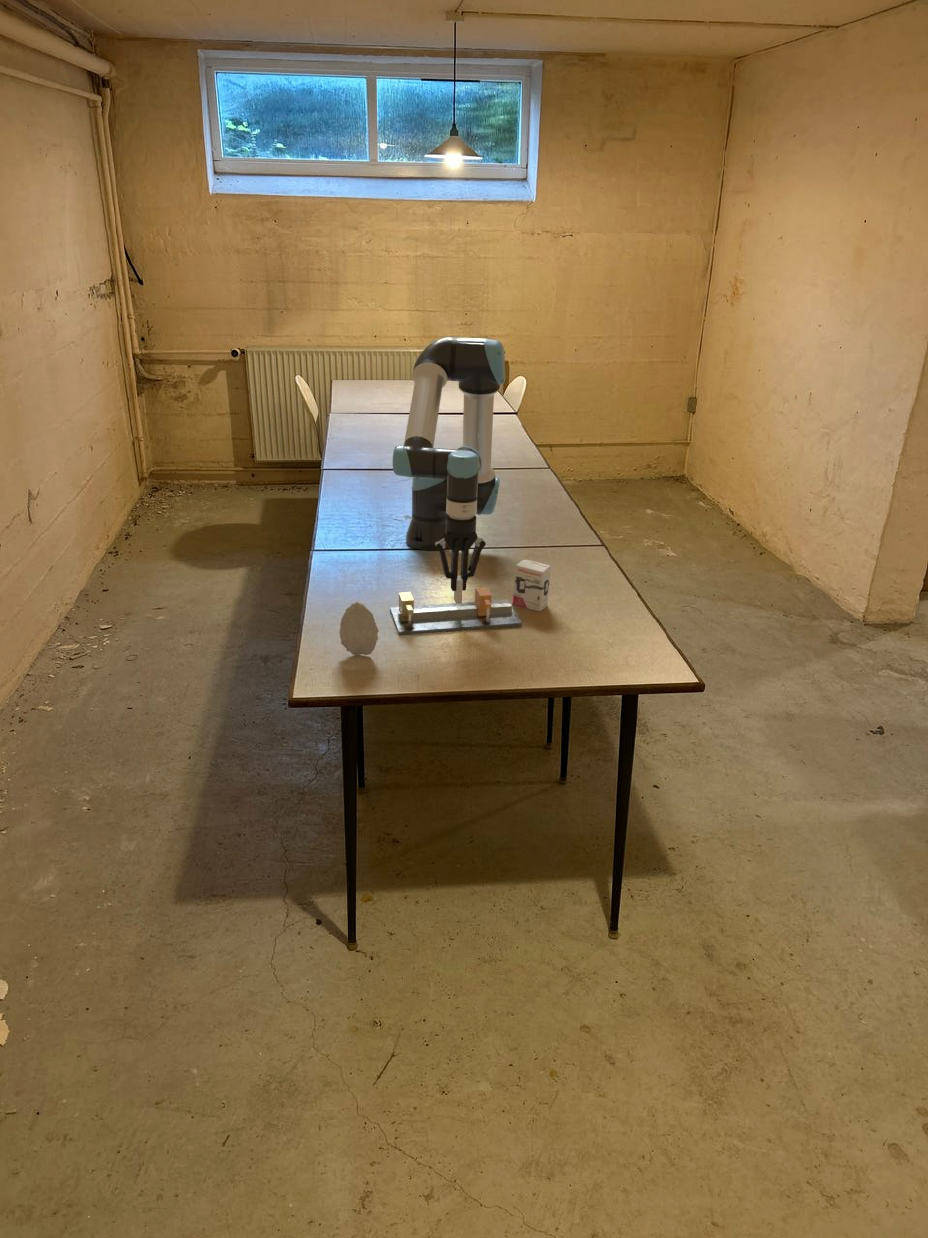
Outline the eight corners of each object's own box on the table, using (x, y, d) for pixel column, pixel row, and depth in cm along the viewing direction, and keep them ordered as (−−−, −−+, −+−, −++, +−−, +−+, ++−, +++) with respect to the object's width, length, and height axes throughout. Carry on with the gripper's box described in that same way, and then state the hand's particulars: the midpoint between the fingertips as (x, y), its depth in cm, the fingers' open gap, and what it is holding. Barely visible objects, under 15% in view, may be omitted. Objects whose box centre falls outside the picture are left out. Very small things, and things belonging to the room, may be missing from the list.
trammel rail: (396, 614, 220) (396, 592, 217) (508, 607, 226) (509, 585, 224) (402, 630, 212) (402, 607, 209) (517, 621, 219) (519, 599, 216)
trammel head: (474, 608, 224) (475, 587, 221) (485, 607, 225) (486, 587, 222) (482, 623, 217) (483, 602, 214) (493, 622, 217) (495, 601, 215)
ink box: (512, 604, 230) (514, 564, 225) (520, 597, 234) (523, 558, 229) (540, 612, 227) (544, 571, 221) (548, 605, 231) (551, 565, 225)
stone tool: (379, 653, 203) (378, 596, 196) (378, 659, 200) (378, 602, 194) (340, 653, 203) (338, 596, 196) (339, 659, 200) (337, 602, 193)
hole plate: (390, 610, 224) (390, 607, 223) (506, 603, 231) (507, 599, 230) (399, 635, 212) (399, 631, 211) (521, 626, 219) (521, 622, 218)
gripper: (438, 521, 204) (436, 609, 214) (490, 518, 207) (486, 605, 217) (432, 511, 210) (430, 597, 221) (482, 508, 213) (478, 593, 224)
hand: (457, 601), depth 219 cm, fingers closed
